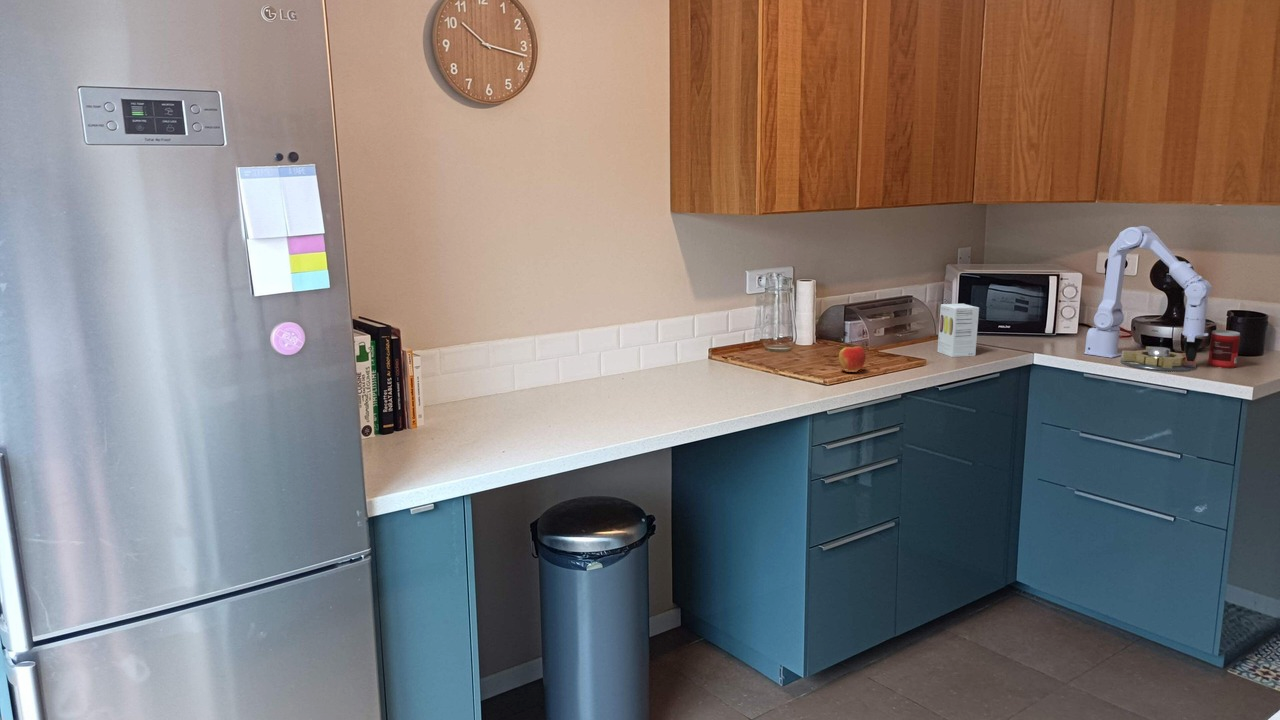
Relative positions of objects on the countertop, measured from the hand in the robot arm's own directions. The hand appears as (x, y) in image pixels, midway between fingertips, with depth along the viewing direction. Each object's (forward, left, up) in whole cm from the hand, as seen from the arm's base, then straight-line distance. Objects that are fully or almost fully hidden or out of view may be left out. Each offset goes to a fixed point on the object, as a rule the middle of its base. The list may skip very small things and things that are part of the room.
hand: (1190, 361), depth 289 cm
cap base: (-8, -4, -2) cm, 9 cm away
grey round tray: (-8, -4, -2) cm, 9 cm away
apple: (-65, -88, -2) cm, 109 cm away
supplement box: (-60, -37, -2) cm, 70 cm away
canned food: (+6, +9, -2) cm, 11 cm away
